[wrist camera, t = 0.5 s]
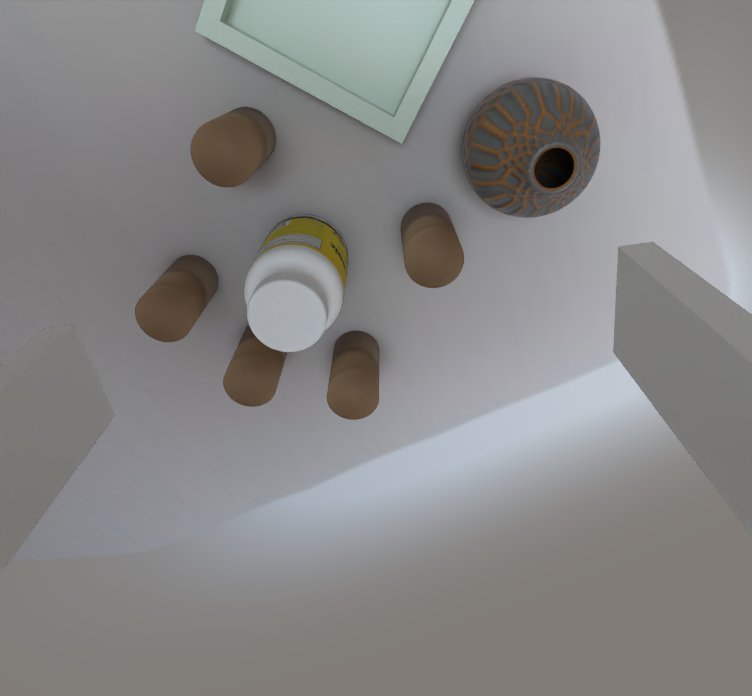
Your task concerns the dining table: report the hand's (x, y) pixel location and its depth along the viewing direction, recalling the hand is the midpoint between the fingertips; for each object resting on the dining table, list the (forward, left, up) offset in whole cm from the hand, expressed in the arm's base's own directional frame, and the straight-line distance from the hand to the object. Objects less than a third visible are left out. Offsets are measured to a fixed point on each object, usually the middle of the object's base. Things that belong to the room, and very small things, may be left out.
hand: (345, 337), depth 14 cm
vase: (+7, +5, -23) cm, 25 cm away
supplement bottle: (-1, -7, -23) cm, 24 cm away
